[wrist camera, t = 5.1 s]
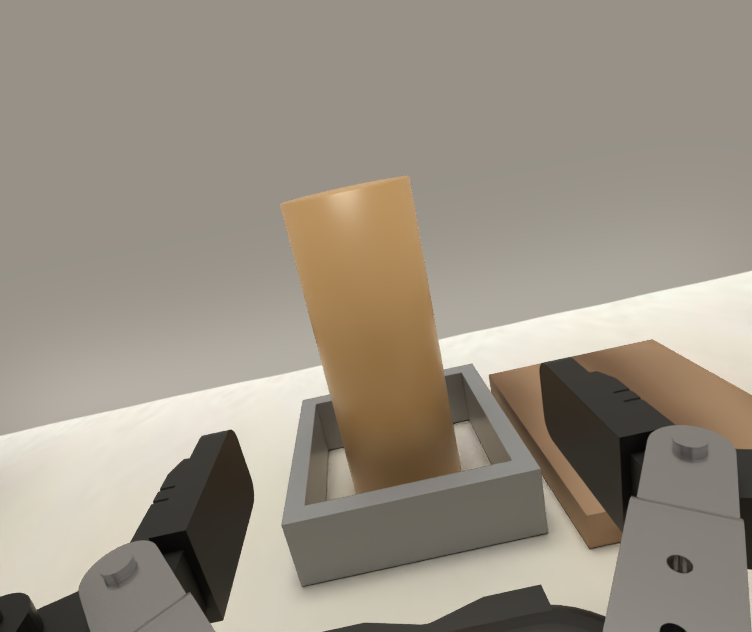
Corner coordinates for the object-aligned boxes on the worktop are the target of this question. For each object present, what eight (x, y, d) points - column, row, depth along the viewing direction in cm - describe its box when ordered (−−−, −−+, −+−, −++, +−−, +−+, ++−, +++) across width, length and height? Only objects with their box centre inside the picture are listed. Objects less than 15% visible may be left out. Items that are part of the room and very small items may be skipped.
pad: (589, 548, 17) (586, 515, 17) (491, 397, 29) (488, 374, 28) (855, 490, 17) (859, 456, 17) (652, 361, 29) (652, 339, 28)
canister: (358, 530, 21) (271, 209, 16) (355, 460, 26) (287, 199, 21) (474, 505, 21) (418, 177, 16) (449, 439, 26) (400, 174, 21)
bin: (301, 586, 18) (281, 524, 18) (315, 445, 28) (302, 400, 27) (547, 532, 18) (540, 468, 18) (479, 409, 28) (472, 363, 27)
